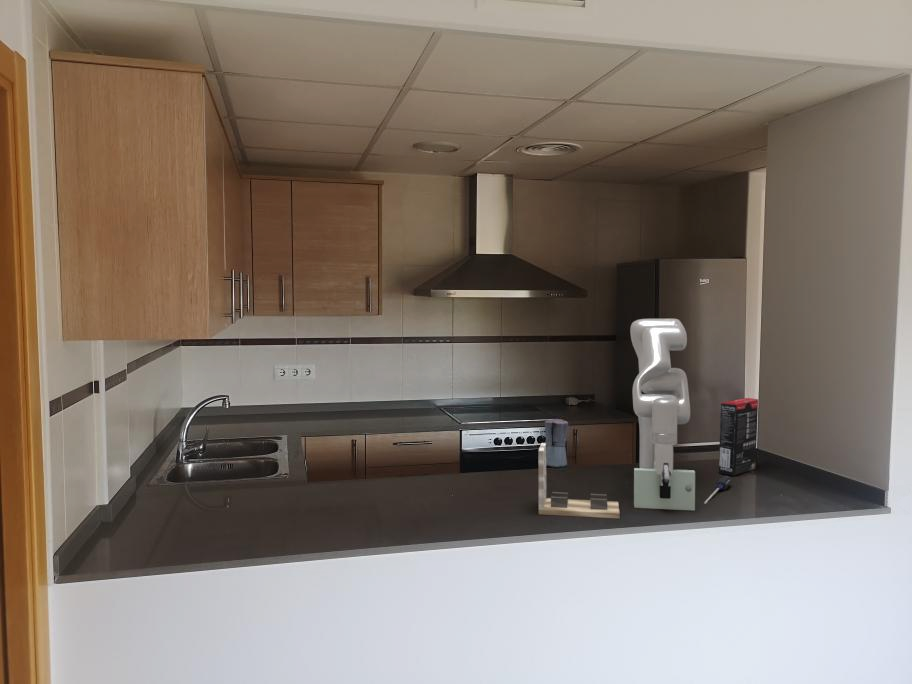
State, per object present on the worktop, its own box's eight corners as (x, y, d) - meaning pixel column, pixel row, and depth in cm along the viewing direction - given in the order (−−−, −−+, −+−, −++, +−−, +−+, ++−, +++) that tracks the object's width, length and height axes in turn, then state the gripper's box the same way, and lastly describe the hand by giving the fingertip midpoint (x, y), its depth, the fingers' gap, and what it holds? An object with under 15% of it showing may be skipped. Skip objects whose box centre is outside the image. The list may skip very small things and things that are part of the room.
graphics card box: (740, 466, 256) (741, 396, 255) (757, 469, 251) (759, 398, 249) (717, 473, 245) (718, 401, 244) (736, 477, 240) (737, 403, 238)
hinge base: (541, 502, 212) (541, 442, 211) (618, 506, 208) (618, 445, 206) (538, 514, 201) (538, 451, 200) (619, 518, 196) (619, 453, 195)
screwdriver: (710, 505, 208) (710, 493, 208) (698, 503, 211) (698, 491, 210) (733, 486, 229) (733, 476, 229) (722, 485, 231) (722, 474, 231)
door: (633, 505, 209) (634, 468, 208) (693, 508, 205) (693, 470, 204) (634, 508, 205) (634, 471, 205) (695, 512, 202) (695, 473, 201)
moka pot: (570, 461, 267) (570, 412, 266) (566, 470, 252) (566, 419, 251) (546, 460, 270) (546, 411, 269) (541, 469, 255) (541, 418, 254)
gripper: (649, 432, 214) (649, 487, 215) (654, 443, 197) (654, 503, 198) (673, 433, 212) (673, 488, 213) (680, 444, 195) (680, 504, 196)
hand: (664, 494), depth 206 cm, fingers open, 5 cm apart
